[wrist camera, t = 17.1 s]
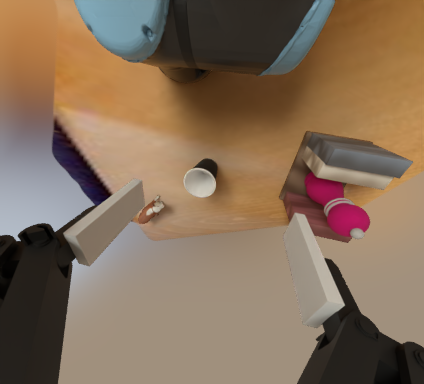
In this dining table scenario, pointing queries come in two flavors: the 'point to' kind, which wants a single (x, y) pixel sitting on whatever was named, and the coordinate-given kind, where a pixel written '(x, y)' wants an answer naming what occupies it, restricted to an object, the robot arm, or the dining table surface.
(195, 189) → the dixie cup
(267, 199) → the dining table surface
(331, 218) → the pepper mill
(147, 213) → the bull figurine
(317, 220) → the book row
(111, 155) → the dining table surface
